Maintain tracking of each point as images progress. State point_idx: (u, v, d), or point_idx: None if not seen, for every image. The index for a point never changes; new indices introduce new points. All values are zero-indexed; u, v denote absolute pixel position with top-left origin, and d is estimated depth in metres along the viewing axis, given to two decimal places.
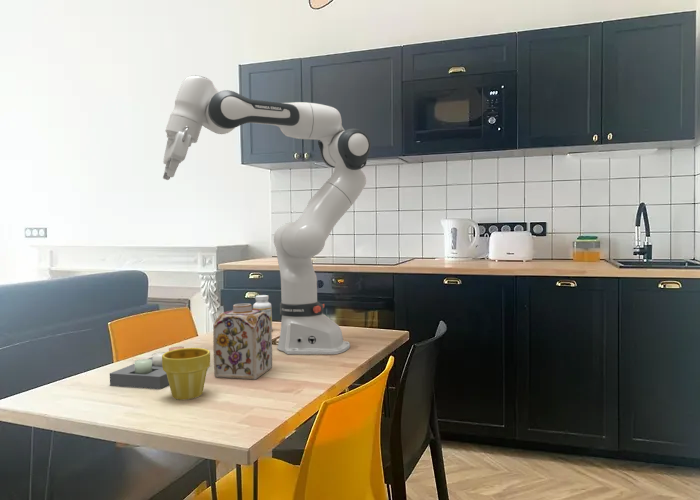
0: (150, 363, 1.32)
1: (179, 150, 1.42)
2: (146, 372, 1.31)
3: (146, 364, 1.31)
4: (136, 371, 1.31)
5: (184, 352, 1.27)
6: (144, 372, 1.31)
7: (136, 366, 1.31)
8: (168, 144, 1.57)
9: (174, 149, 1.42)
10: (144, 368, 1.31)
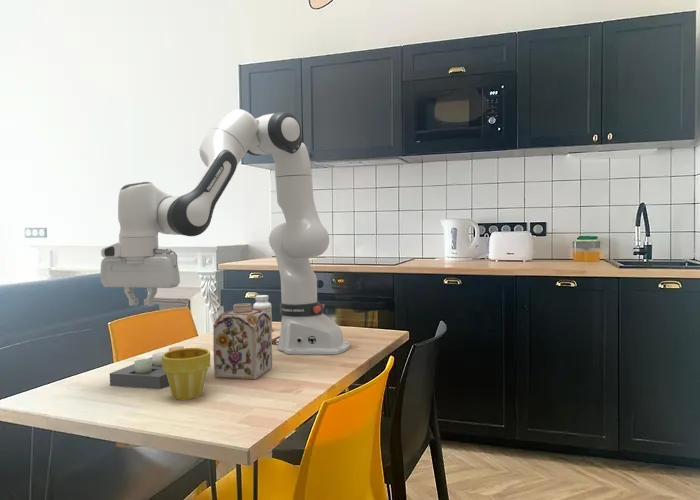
0: (150, 363, 1.32)
1: (175, 278, 1.29)
2: (146, 372, 1.31)
3: (146, 364, 1.31)
4: (136, 371, 1.31)
5: (184, 352, 1.27)
6: (144, 372, 1.31)
7: (136, 366, 1.31)
8: (108, 264, 1.32)
9: (172, 280, 1.28)
10: (144, 368, 1.31)
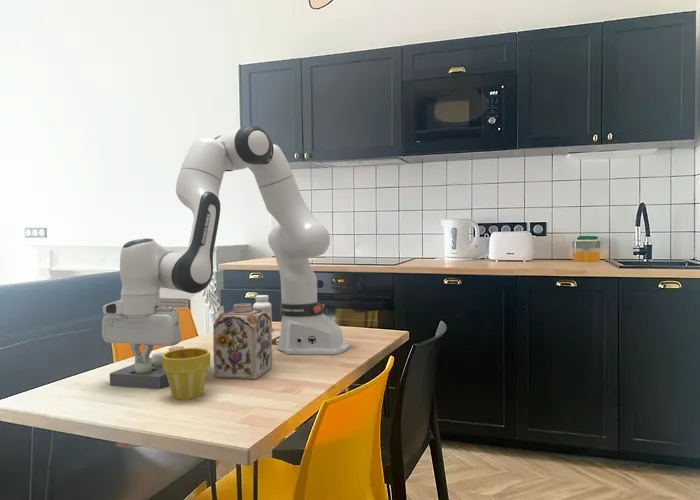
0: (150, 364, 1.32)
1: (176, 336, 1.29)
2: (146, 373, 1.31)
3: (146, 365, 1.31)
4: (136, 372, 1.31)
5: (184, 352, 1.27)
6: (144, 373, 1.31)
7: (136, 367, 1.31)
8: (109, 320, 1.32)
9: (173, 338, 1.28)
10: (144, 369, 1.31)
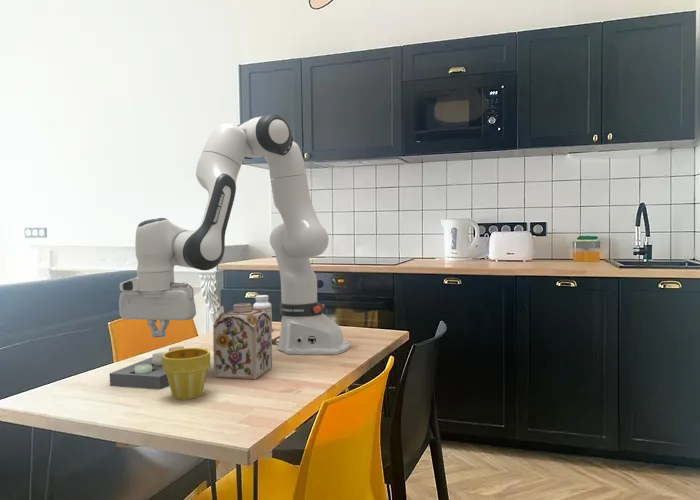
0: (150, 368, 1.32)
1: (192, 311, 1.35)
2: None
3: (146, 369, 1.31)
4: None
5: (184, 352, 1.27)
6: None
7: (136, 371, 1.31)
8: (126, 298, 1.37)
9: (189, 312, 1.34)
10: (144, 373, 1.31)
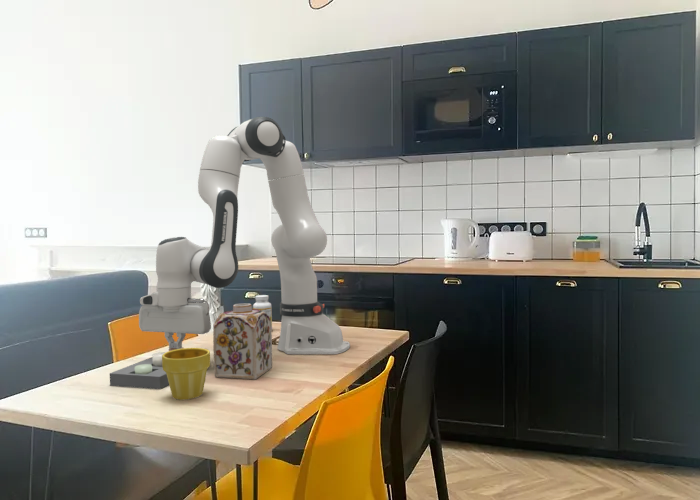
0: (150, 368, 1.32)
1: (207, 325, 1.43)
2: None
3: (146, 369, 1.31)
4: None
5: (184, 352, 1.27)
6: None
7: (136, 371, 1.31)
8: (145, 311, 1.46)
9: (204, 327, 1.42)
10: (144, 373, 1.31)
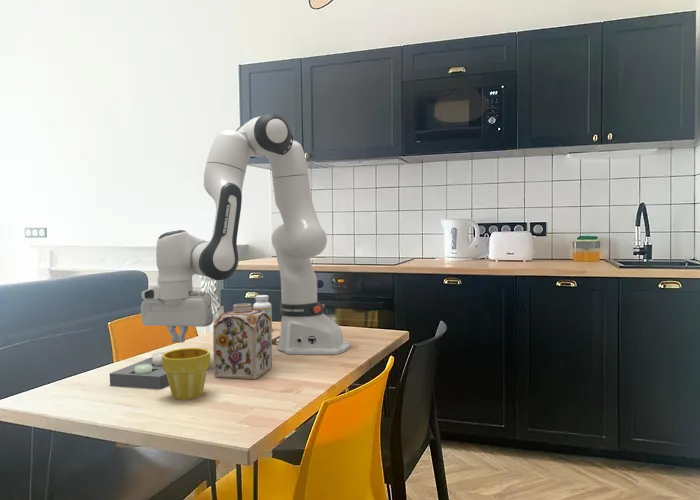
0: (150, 368, 1.32)
1: (209, 318, 1.43)
2: None
3: (146, 369, 1.31)
4: None
5: (184, 352, 1.27)
6: None
7: (136, 371, 1.31)
8: (147, 305, 1.46)
9: (207, 319, 1.42)
10: (144, 373, 1.31)
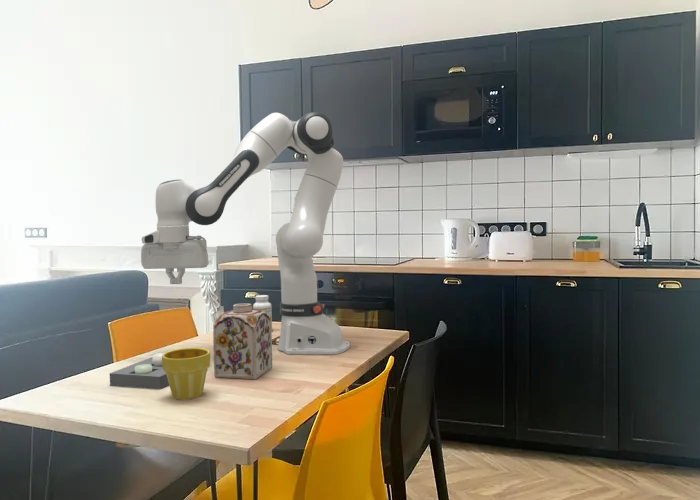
0: (150, 368, 1.32)
1: (205, 260, 1.55)
2: None
3: (146, 369, 1.31)
4: None
5: (184, 352, 1.27)
6: None
7: (136, 371, 1.31)
8: (147, 250, 1.57)
9: (203, 261, 1.54)
10: (144, 373, 1.31)
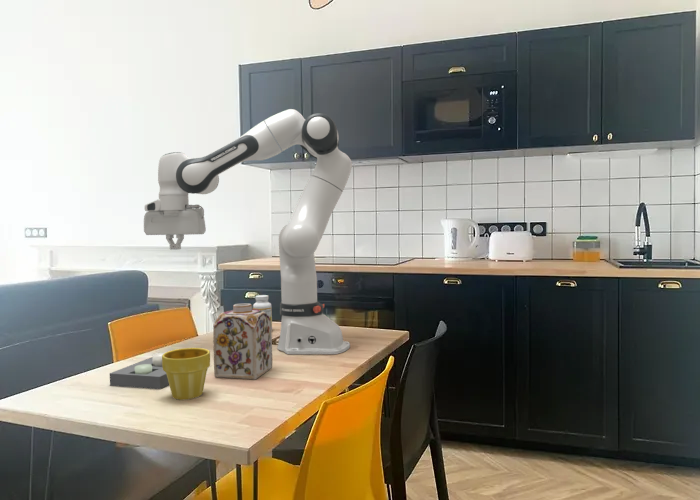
0: (150, 368, 1.32)
1: (202, 227, 1.67)
2: None
3: (146, 369, 1.31)
4: None
5: (184, 352, 1.27)
6: None
7: (136, 371, 1.31)
8: (149, 217, 1.70)
9: (200, 228, 1.66)
10: (144, 373, 1.31)
